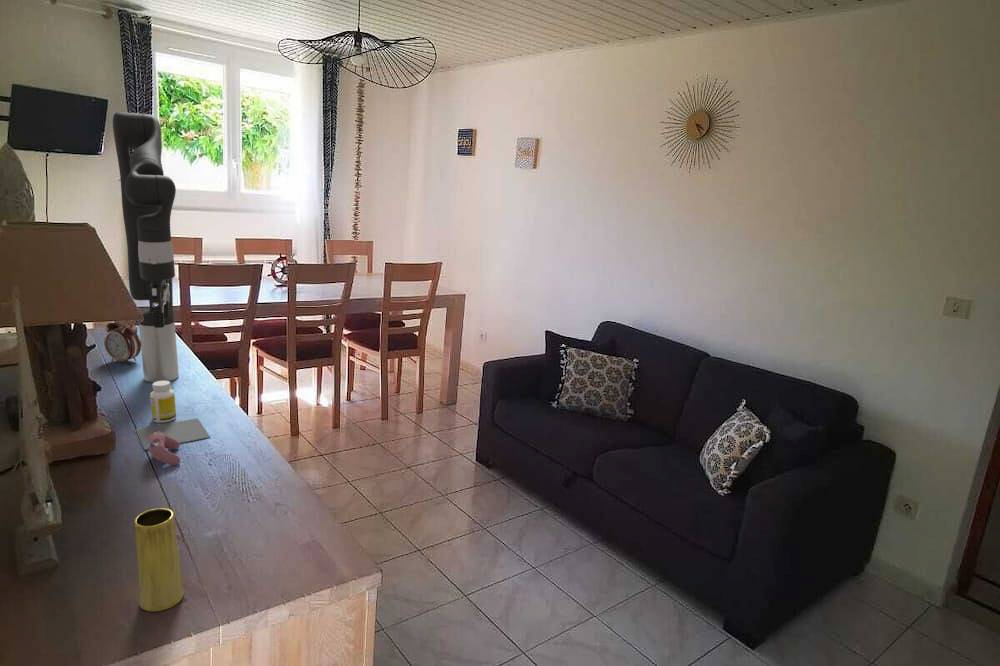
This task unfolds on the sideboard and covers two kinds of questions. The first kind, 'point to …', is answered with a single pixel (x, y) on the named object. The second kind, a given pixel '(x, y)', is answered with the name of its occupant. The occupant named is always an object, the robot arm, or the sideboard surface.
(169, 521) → the vase
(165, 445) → the video game controller
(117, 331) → the alarm clock
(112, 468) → the sideboard surface
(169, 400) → the supplement bottle
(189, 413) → the sideboard surface
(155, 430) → the mat
